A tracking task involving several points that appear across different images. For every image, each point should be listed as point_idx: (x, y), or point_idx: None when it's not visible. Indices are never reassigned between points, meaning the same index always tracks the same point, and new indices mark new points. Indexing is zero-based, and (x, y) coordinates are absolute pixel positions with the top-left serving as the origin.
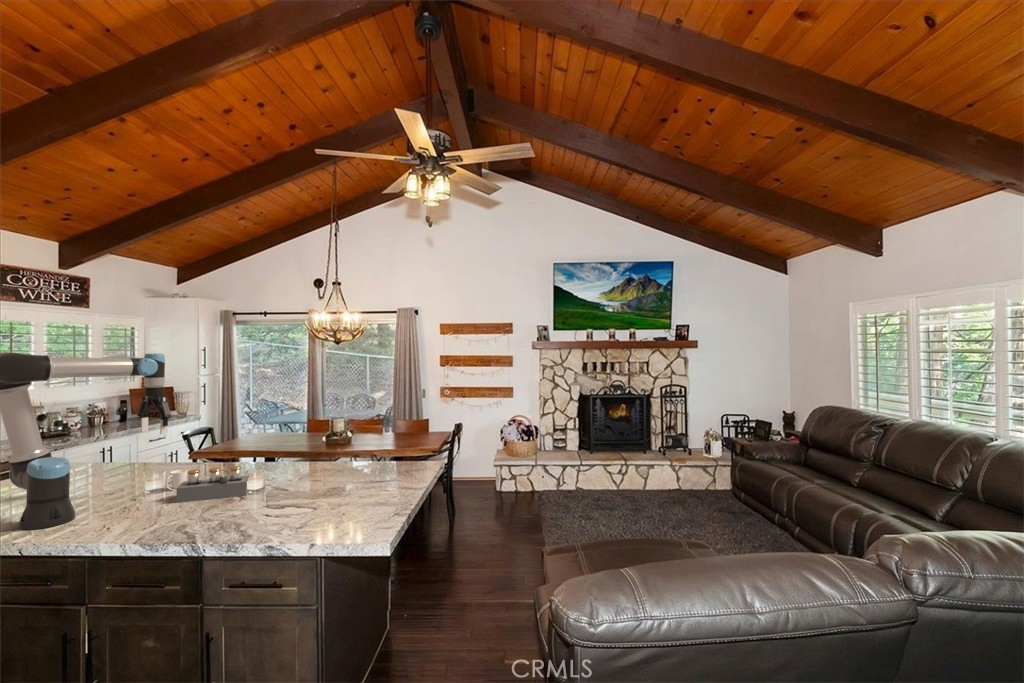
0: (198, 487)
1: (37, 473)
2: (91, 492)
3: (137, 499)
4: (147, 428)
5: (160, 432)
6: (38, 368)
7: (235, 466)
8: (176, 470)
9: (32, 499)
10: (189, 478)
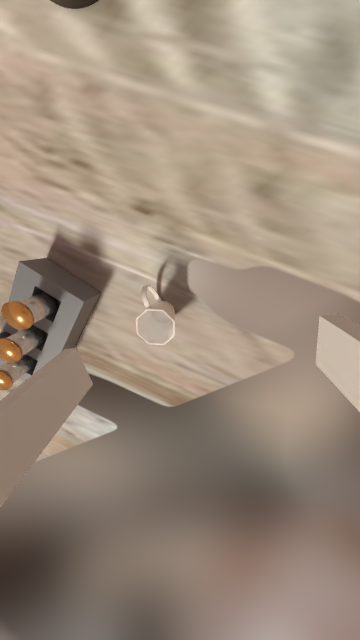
0: (11, 298)
1: None
2: (346, 152)
3: (140, 215)
4: (333, 375)
5: (65, 354)
6: None
7: (8, 385)
8: (173, 330)
9: None
10: (24, 299)
